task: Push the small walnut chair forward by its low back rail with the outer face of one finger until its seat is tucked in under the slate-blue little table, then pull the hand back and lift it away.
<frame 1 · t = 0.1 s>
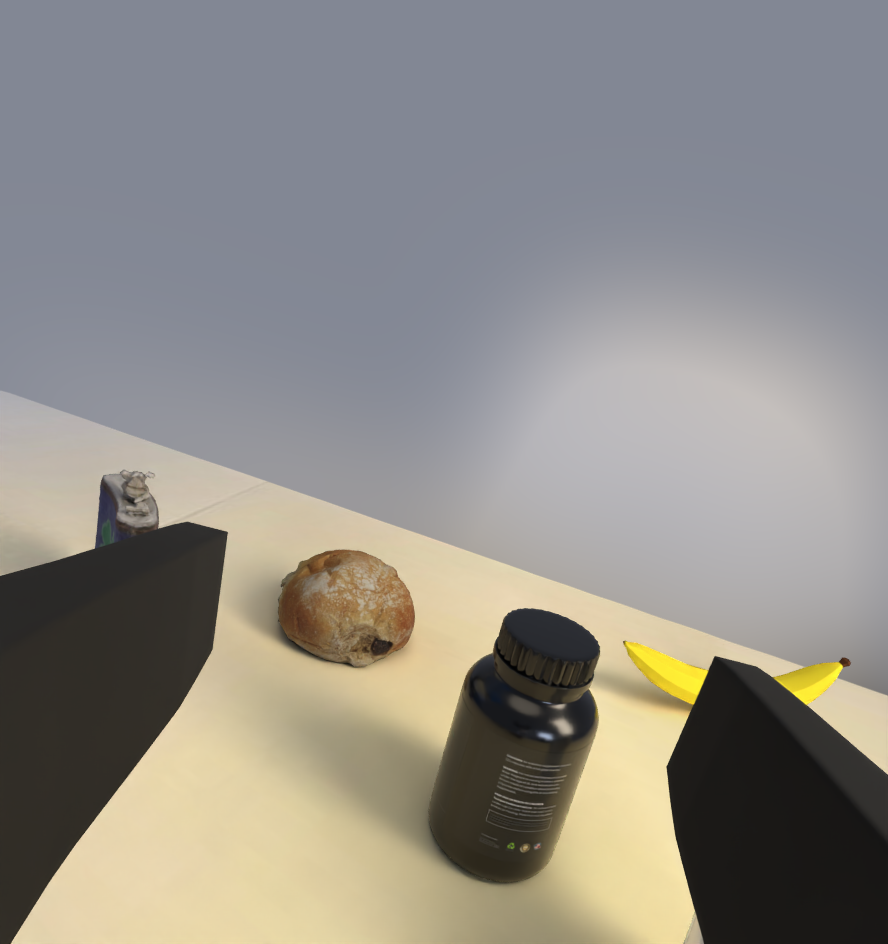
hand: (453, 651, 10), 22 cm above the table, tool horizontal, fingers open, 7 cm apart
flask: (117, 621, 46), on the table
banana: (714, 714, 53), on the table
bread roll: (337, 630, 51), on the table
supplement bottle: (487, 833, 36), on the table
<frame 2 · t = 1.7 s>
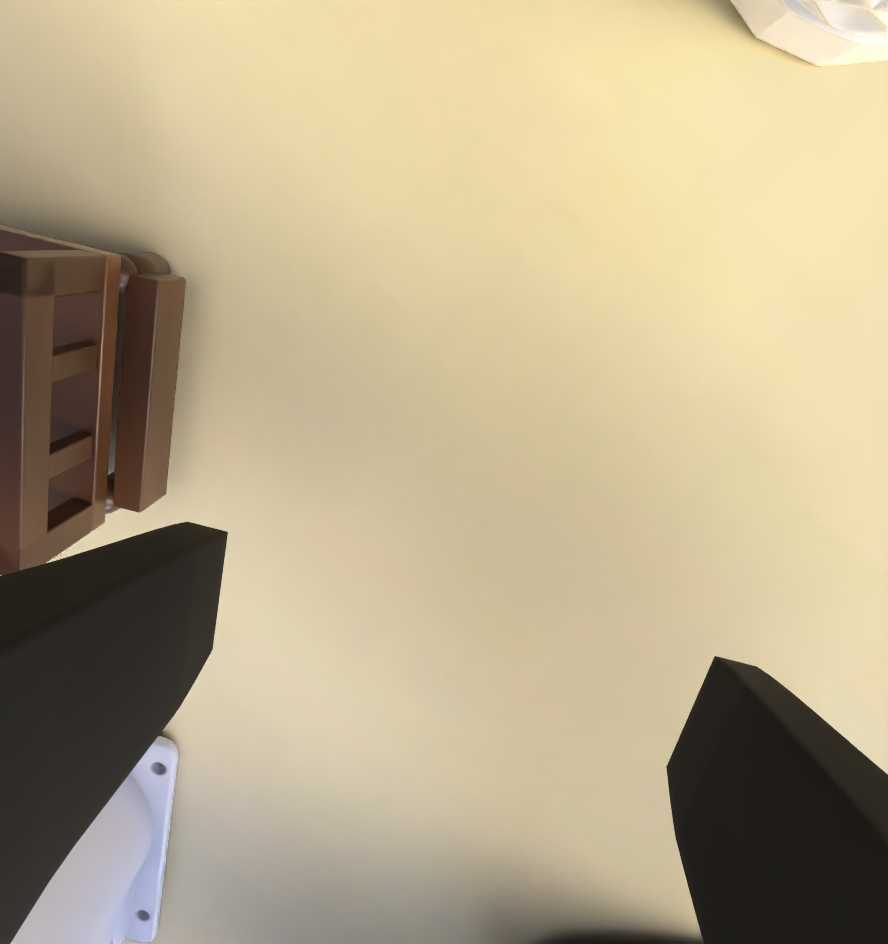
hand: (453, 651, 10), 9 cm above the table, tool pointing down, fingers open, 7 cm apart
chair: (51, 351, 19), on the table
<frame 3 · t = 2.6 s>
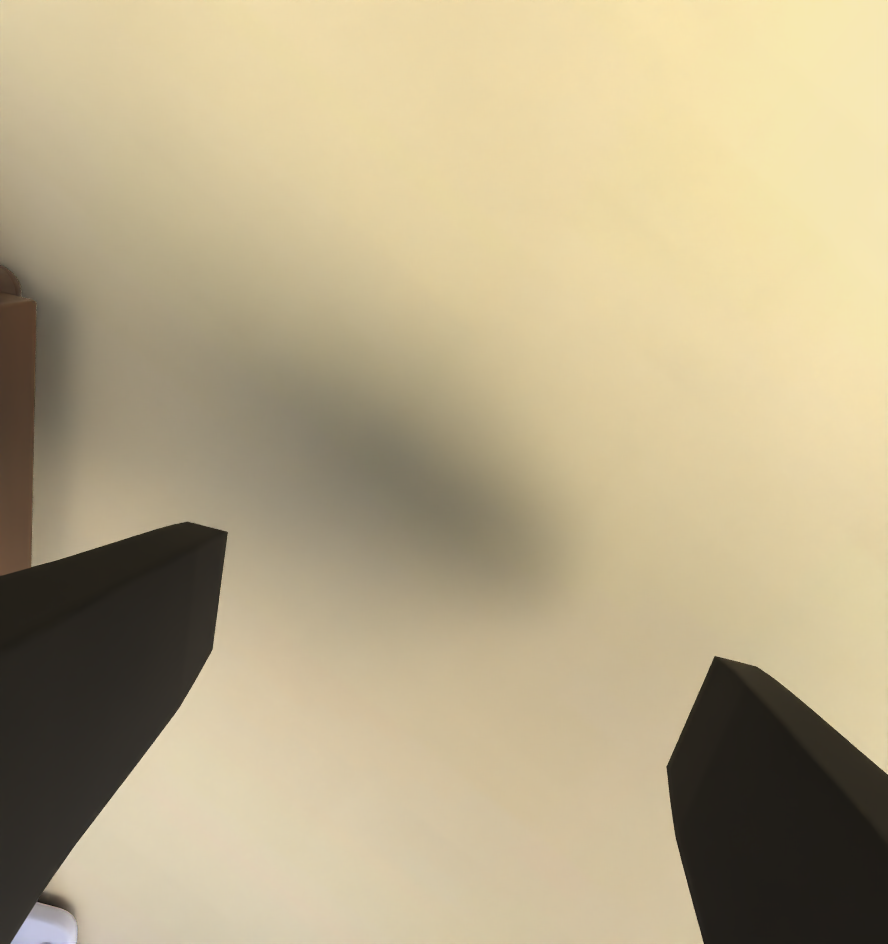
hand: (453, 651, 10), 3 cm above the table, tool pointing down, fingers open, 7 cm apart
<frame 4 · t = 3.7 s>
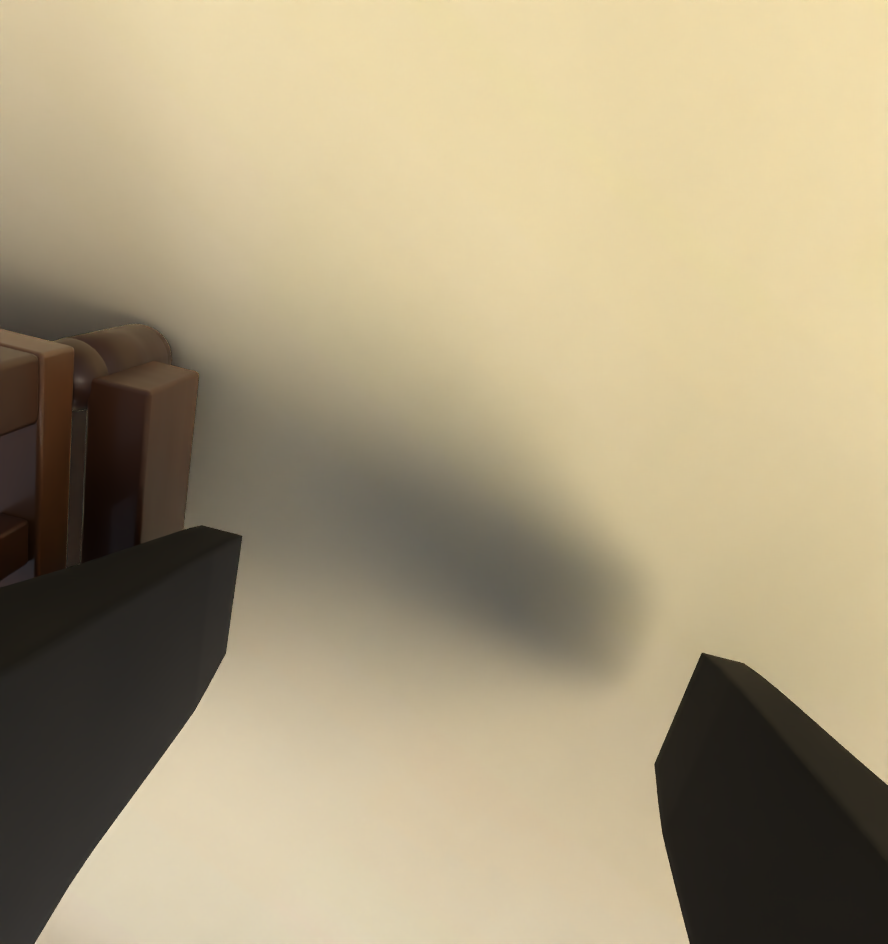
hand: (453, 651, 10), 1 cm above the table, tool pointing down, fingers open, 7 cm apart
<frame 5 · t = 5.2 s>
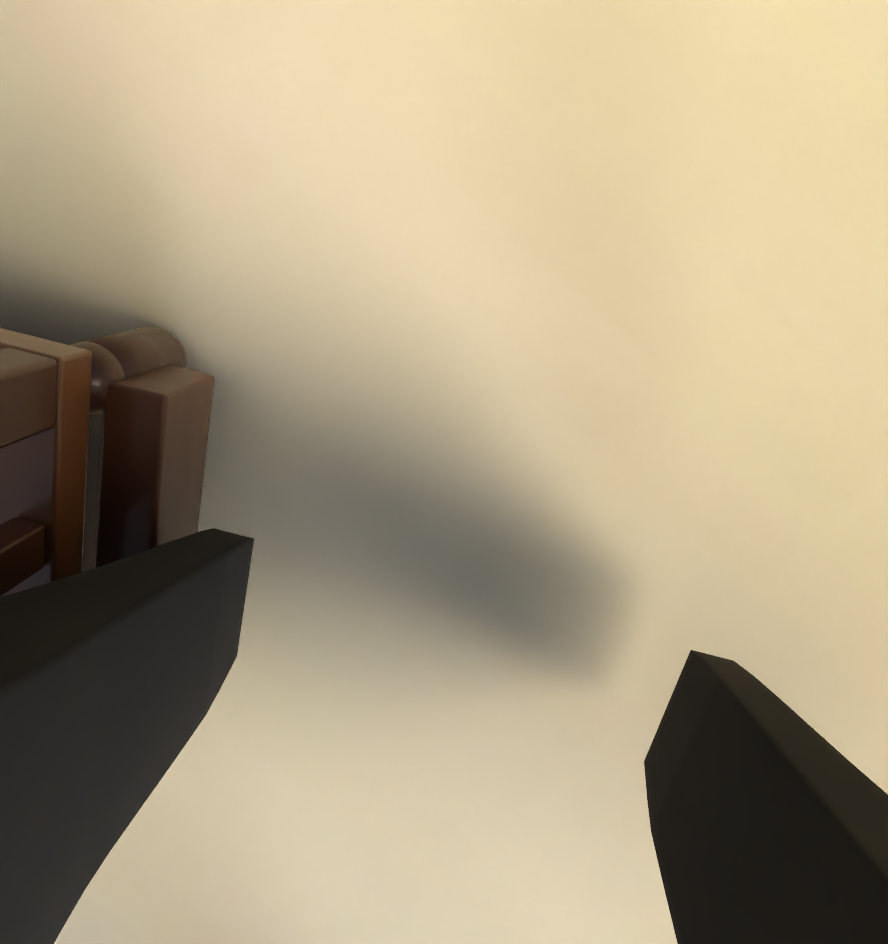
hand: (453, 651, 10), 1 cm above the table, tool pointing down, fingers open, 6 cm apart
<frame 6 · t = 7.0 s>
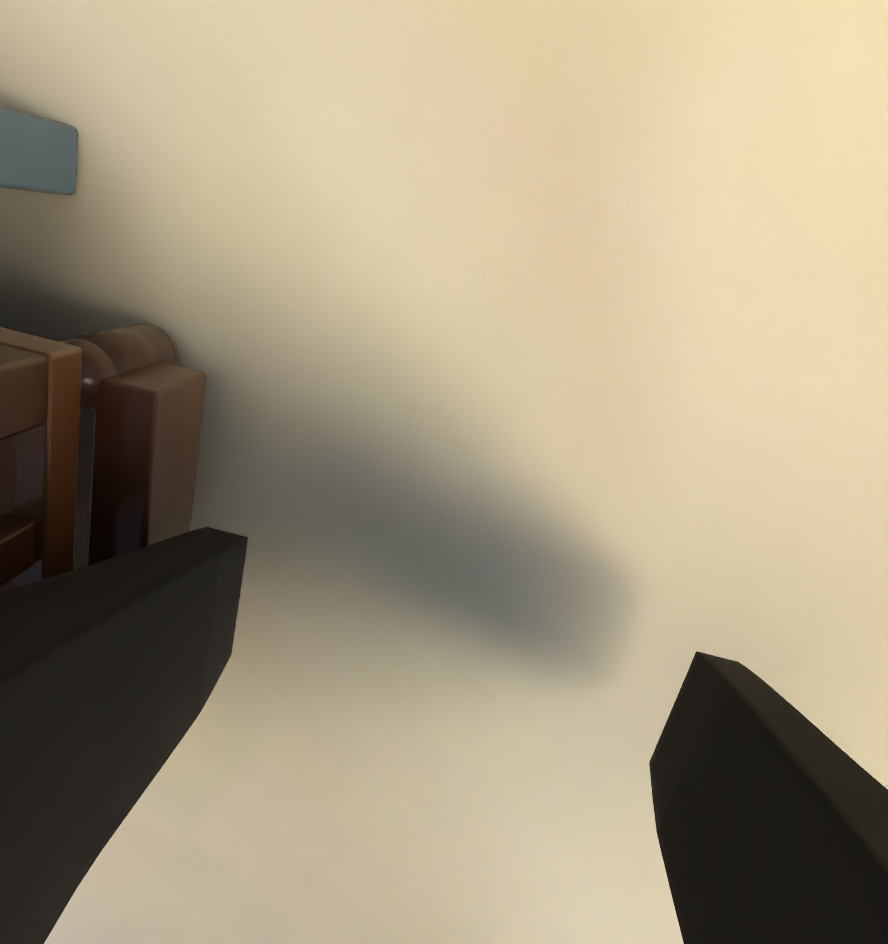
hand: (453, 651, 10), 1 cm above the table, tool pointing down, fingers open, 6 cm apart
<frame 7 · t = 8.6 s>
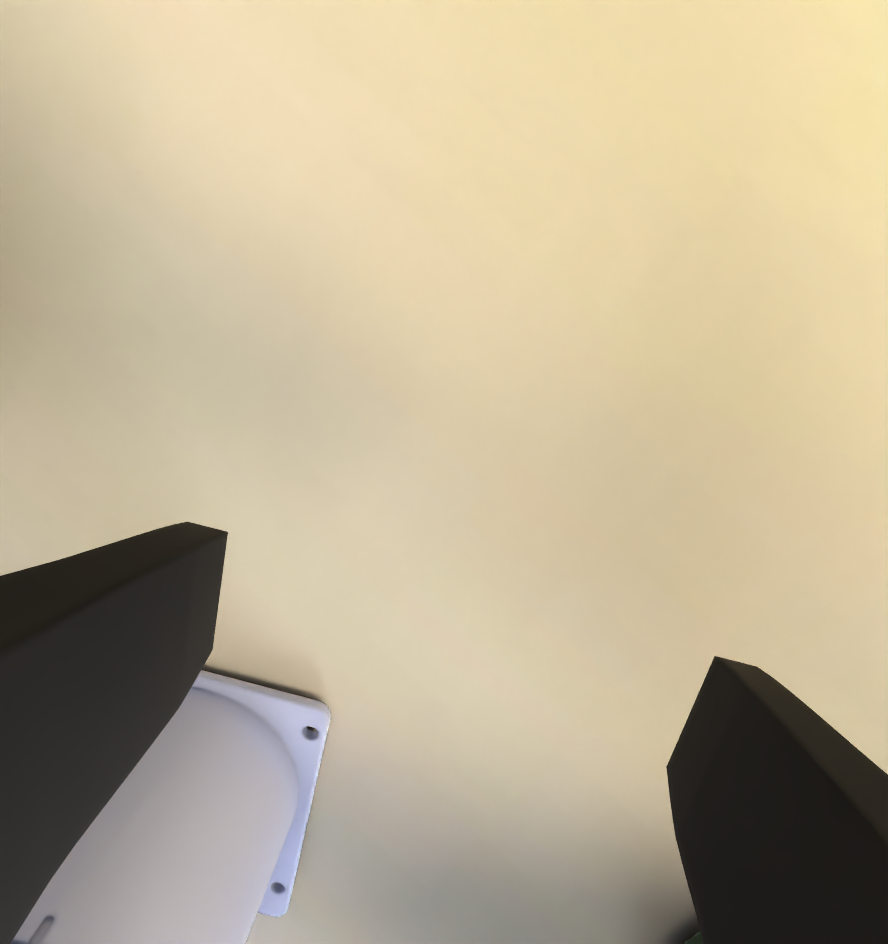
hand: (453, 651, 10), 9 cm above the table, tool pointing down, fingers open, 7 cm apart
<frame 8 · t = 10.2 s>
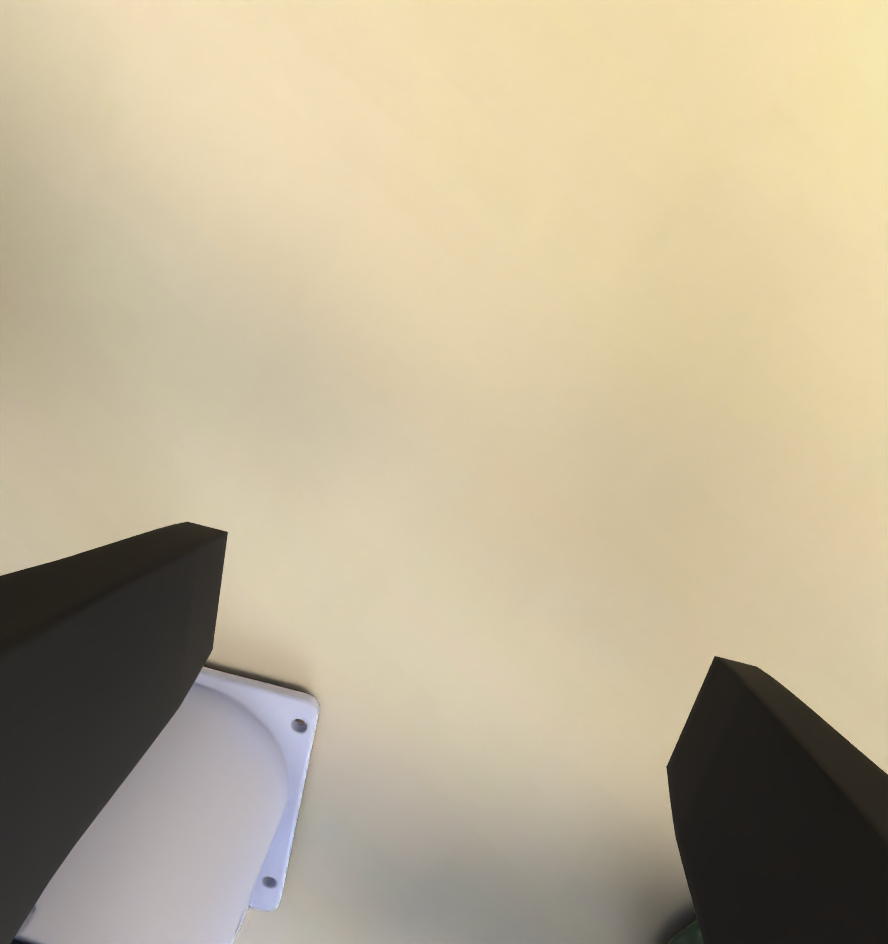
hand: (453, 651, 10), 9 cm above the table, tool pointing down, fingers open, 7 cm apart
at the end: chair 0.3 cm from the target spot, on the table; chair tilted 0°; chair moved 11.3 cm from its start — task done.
